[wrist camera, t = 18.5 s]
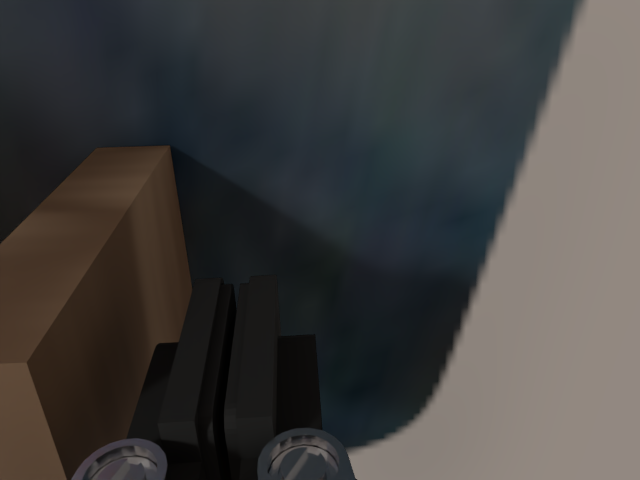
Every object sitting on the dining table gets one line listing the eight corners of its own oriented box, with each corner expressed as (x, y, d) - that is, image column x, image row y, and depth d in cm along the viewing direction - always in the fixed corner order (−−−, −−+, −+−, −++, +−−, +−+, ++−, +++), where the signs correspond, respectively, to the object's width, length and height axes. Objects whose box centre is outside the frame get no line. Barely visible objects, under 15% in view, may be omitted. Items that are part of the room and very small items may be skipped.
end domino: (130, 299, 18) (-12, 589, 10) (96, 147, 16) (-125, 367, 8) (193, 297, 18) (103, 584, 10) (169, 145, 16) (25, 362, 8)
